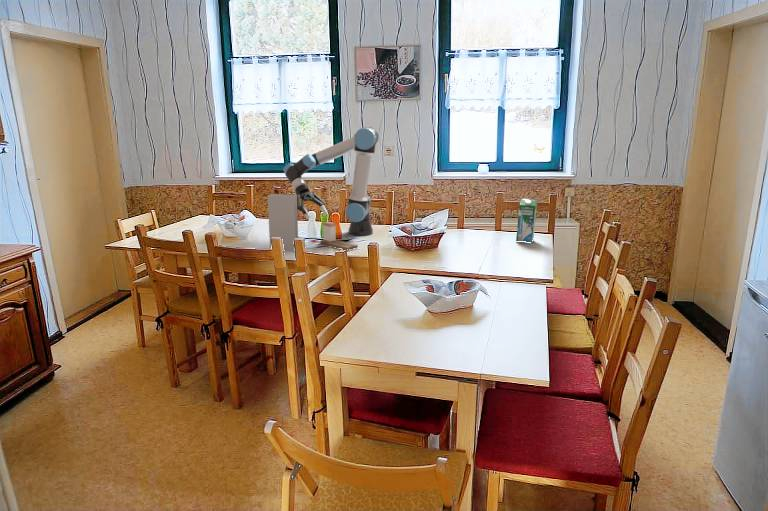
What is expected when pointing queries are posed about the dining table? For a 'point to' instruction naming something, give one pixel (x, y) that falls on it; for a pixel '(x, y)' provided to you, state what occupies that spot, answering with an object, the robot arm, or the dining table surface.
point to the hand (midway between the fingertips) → (318, 216)
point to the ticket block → (338, 244)
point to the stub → (329, 231)
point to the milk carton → (526, 220)
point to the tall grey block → (283, 219)
